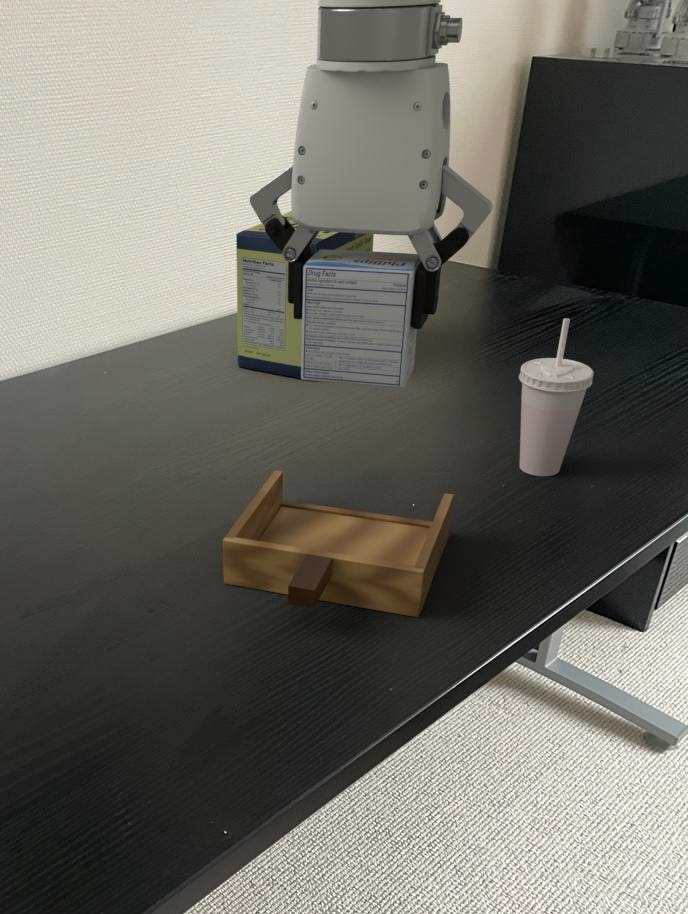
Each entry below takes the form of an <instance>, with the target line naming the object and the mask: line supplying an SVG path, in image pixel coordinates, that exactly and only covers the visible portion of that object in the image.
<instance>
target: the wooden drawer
mask: <svg viewBox="0 0 688 914" xmlns="http://www.w3.org/2000/svg"><path fill="white" fill-rule="evenodd" d="M283 483H284V471H281V470H273V472H272V473H271V475H269V477H268V479H267V480H266V481H265V483H264V484H263V485H262V487H261V488H260V489H259V491H258V492H257V494H256V495H255V496H254V498H253V499H252V500H251V502H250V503H249V504H248V505H247V507H246V508H245V509H244V511H243V513H242V514H241V515H240V516H239V517H238V519H237V520H236V522H235V523H234V524H233V526H232V527H231V528H230V530H229V531H228V532H227V534H226V535H225V537H224V538H223V539H222V561H223V563H222V566H223V567H222V568H223V584H225V585H230V586H234V587H235V586H236V587H242V588H247V589H253V590H259V591H263V592H270V593H276V594H282V595H287V604H288V605H293V606H297V607H302V608H309V609H315V608H316V606H317V605H318V602H319V601H321V602H326V603H332V604H338V605H345V606H349V607H356V608H361V609H367V610H374V611H378V612H383V613H384V612H385V613H391V614H394V615H395V614H396V615H403V616H407V617H412V618H419V617H420V615H421V612H422V610H423V607H424V604H425V602H426V599H427V596H428V593H429V591H430V589H431V585H432V582H433V580H434V577H435V574H436V572H437V569H438V567H439V564H440V561H441V558H442V555H443V553H444V550H445V547H446V546H447V545H446V544H447V542H448V540H449V536H450V532H451V520H452V512H453V506H454V497H455V494H454V493H447V492H444V493H443V494H442V495H443V496H442V498H441V500H440V502H439V505H438V506H437V510H436V513H435V515H434V517H433V520H432V521H430V520H425V519H417V518H410V517H403V516H397V515H390V514H389V515H388V514H383V513H376V512H368V511H362V510H355V509H348V508H340V507H334V506H326V505H319V504H313V503H307V502H300V501H292V500H291V501H290V500H285V499H284V498H283V497H284V496H283V494H284V493H283V492H284V490H283V489H284V484H283Z"/></svg>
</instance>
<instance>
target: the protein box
mask: <svg viewBox="0 0 688 914" xmlns="http://www.w3.org/2000/svg"><path fill="white" fill-rule="evenodd" d="M282 216H284V217H285V218H286V219H287V220H288V221H289V223H290V224H291V225H292V226H293V227H294V229H295V230H296V229H297V227H298V226H299V224H297V223H296V222H295V220H294V219H293V216H292V210H290V211H288V212H286V213H283V214H282ZM374 236H375V234H363V233H345V232H329V231H320V232H319V234H318V235H317V237H316V238H315V240H314V241H313V243H312V244H311V246H310V248H311V253H314V254H315V253H316V252H318V251H319V250H350V251H373V252H374V238H375V237H374ZM235 237H236V239H235V240H236V241H235V242H236V244H235V245H236V246H235V247H236V297H237V298H236V310H237V311H236V313H237V314H236V315H237V318H236V319H237V320H236V321H237V322H236V323H237V324H236V326H237V328H236V329H237V330H236V331H237V367H240V368H243V369H249V370H255V371H261V372H266V373H272V374H277V375H282V376H287V377H292V378H298V379H301V362H302V319H294V304H291V303H289V302H288V262H287V261H286V260H285V259H284V258H283V255H282V251H281V250H280V249H279V248H278V247H277V246H276V244H275V243H274V242H273V241H272V240H271V239H270V237H269V236H268V235H267V234H266V231H265V227H264V225H263V223H261V222H260V223H258V224H256V225H254V226H251V227H249V228H246V229H243V230H241V231H239V232H238V233H236V235H235Z"/></svg>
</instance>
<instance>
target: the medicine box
mask: <svg viewBox="0 0 688 914" xmlns="http://www.w3.org/2000/svg"><path fill="white" fill-rule="evenodd" d="M420 263H421V260H420V258H419V256H418V254H417V253H406V252H391V251H390V252H389V251H374V250H373V251H350V250H319V251H318V252H316V253H315V254H314V255H313V256H312V257H311V258H310V259H309V260H308V261H307V262H306V264H305V265H304V266H303V311H302V362H301V378H300V379H301V380H302V381H310V382H322V383H323V382H324V383H335V384H345V385H346V384H347V385H348V384H349V385H357V386H358V385H359V386H371V387H383V388H395V389H404V388H405V387H406V385H407V383H408V381H409V379H410V377H411V375H412V372H413V370H414V368H415V357H416V347H417V346H416V344H417V334H418V333H417V332H418V329H413V327H411V313H412V302H413V290H414V279H415V273H416V271H417V270H418V269H419V267H420Z"/></svg>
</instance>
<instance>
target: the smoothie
mask: <svg viewBox="0 0 688 914" xmlns="http://www.w3.org/2000/svg"><path fill="white" fill-rule="evenodd" d="M570 322H571V319H570V318H569V317H568V318H567V317H565V318H563V319H562V325H561V330H560V336H559V342H558V348H557V353H556V357H542V358H534V359H531V360H528V361H526V362H523V364H522V365H521V366H520V370H519V372H520V373H519V374H518V380H519V381H520V383H521V402H520V403H521V405H520V435H519V437H520V438H519V439H520V440H519V466H518V467H519V470H521V471H522V472H523V473H526V474H527V475H531V476H534V477H551V476H554V475H558V473H560V470H561V467H562V464H563V461H564V458H565V455H566V452H567V449H568V446H569V443H570V440H571V438H572V435H573V431H574V429H575V425H576V423H577V419H578V417H579V413H580V411H581V407H582V404H583V402H584V398H585V396H586V392H587V389H588V388H591V386H592V385H593V380H594V379H593V378H594V370H593V369H592V367H590V366H589V365H587V364H584V363H583V362H579V361H577V360H572V359H568V358H564V354H565V349H566V343H567V339H568V333H569V326H570Z"/></svg>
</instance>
